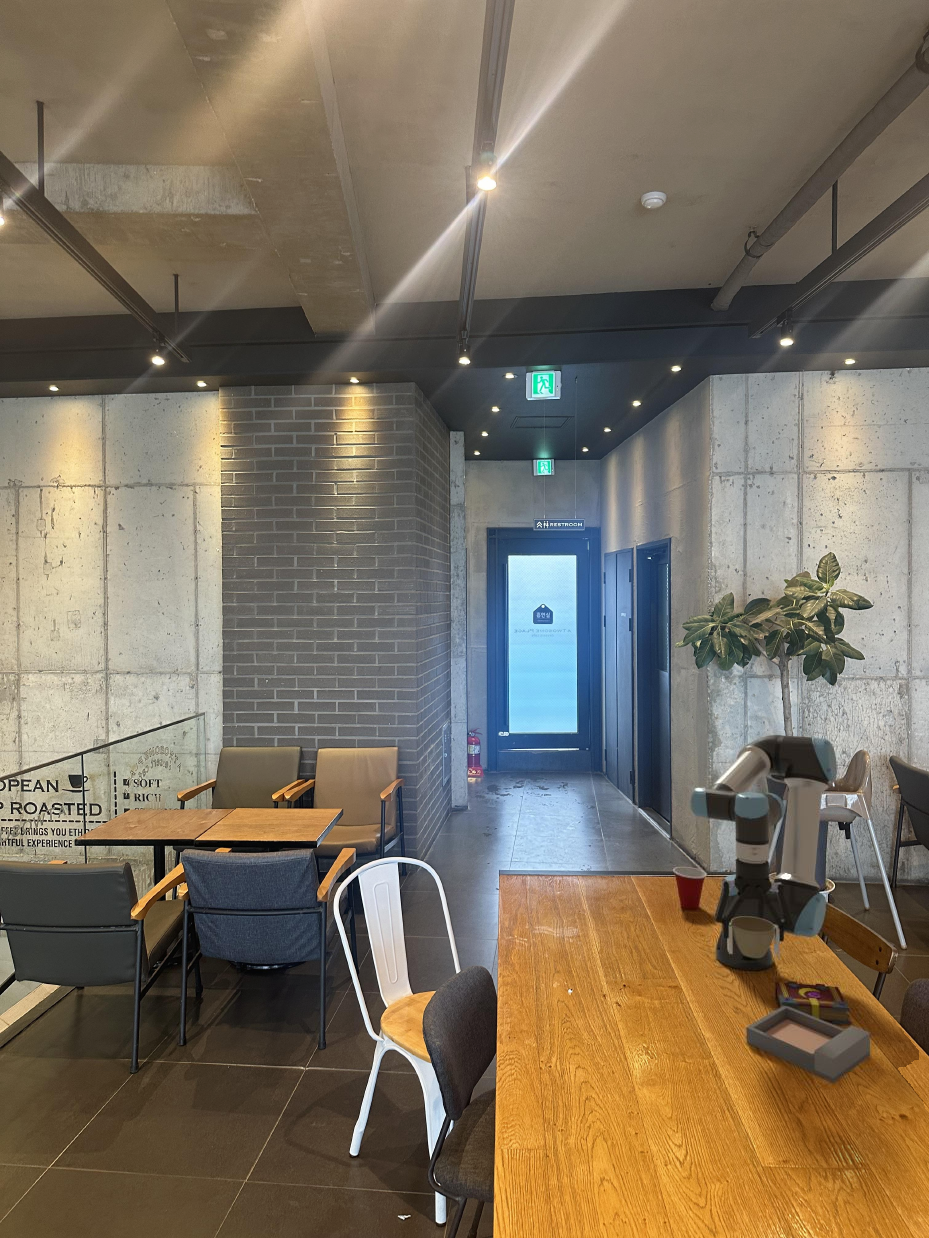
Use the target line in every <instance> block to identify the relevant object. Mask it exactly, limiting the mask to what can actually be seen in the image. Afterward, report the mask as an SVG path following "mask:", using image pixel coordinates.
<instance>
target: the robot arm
mask: <svg viewBox="0 0 929 1238" xmlns="http://www.w3.org/2000/svg"><path fill="white" fill-rule="evenodd" d="M837 774H838V764H837V757H836V752H835V748H834V746H833V744H832V742H831V741H830V740H828V739H826V738H821V737H815V736H793V735H781V734H773V735H767V736H766V735H765V736H763V737H760V738H757V739H755V740H754V741H751V742H749V743H747V745H745V746H743V748H741V749H740V751H739V752H738V754H737V756H736V760H735V761H734V762H733V763H732V764H731V765H730V766H729V767H728V768H727V769H726V770H725V771H724V772H723V773H722V774H721V775H720V776H719V777H718V778H717V779H716V781H714V783H713V784H712V785H710V787H708V788H707V787H705V786H704V787H695V788H694V789H693V790H692V792H691V796H690V809H691V812H692V813H693V815H694V816H696V817H699V818H705V819H711V820H712V819H713V820H720V821H727V822H733V823H734V822H735V823H734V825H735V826H734V827H735V857H736V859H735V874H730V875H728V876H725V878H723V879H722V881H721V888H720V890H721V891H720V896H719V899H718V903H717V906H716V909H715V912H714V919H715V921H716V922H717V923H721V930H720V934H719V937H718V939H717V942H716V946H715V958H716V959H717V961H718V962H720V963H721V964H723V965H725V966H727V967H730V968H733V969H737V970H741V971H763V970H766V969H769V968H770V967H771V966H773V963H774V962H773V961H774V957H773V955H775V956H776V957H778V958H779V957H780V950H781V949H780V947H781V946H780V942H784V940H785V934H791V935H794V936H796V937H799V936H801V937H806V938H813V937H815V936H817V935H818V934H819V932H820V931H821V929H822V927H823V924H824V920H825V917H826V910H827V899H826V896H825V895H824V894H822V893H821V886H820V885H819V884H818V883H817V881H816V879H815V878H816V877H815V875H816V865H817V856H818V854H817V852H818V842H819V830H820V820H821V810H822V808H821V807H822V796H823V792H824V791H826V790H828V789H829V784H830V782H834V781H836V779H837ZM767 775H776V776H783V777H784V778H783V779H784V783H785V784H786V785H787V787H788V797H787V805H786V806H787V807H785V803H784V801H783V799H781V797H780V796H779V795H777V794H775V793H771V792H764V793H760V792H753V791H752V792H751V791H749V790H750V789H751V788H752V786H753V785H754V784H755V783H756V781H758V779H761V778H764V777H765V776H767ZM785 813H786V817H785V824H784V825H785V826H784V827H785V828H784V836H783V847H782V858H781V867H780V873H779V874H777V875H776V876H774V878H773V881H770V862H769V861H768V860H770V850H769V849H770V846H769V844H770V843H769V841H770V833H769V832H770V831H769V830H770V829H769V828H771V827H772V826H775V825H777V824H778V823H779V822H780V821H781V820H782V818H783V817H784V815H785ZM741 916H750V917H757V918H761V919H765V920H767V921H770V922H771V923H773V924H774V925H775V933H774V937H773V952H772V949H771V946H770V947H769V949H768V951H767V952H766V954H765V955H764V956H763V957H761V958H751V957H747V956H745V955H743V954H742V952H741V951H740V949H739V947H738V946H737V943H736V941H735V939H734V936H733V932H732V925H731V920H732V919H733V918H735V917H741ZM773 953H774V954H773ZM776 957H775V958H776Z"/></svg>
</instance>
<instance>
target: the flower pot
mask: <svg viewBox="0 0 929 1238" xmlns="http://www.w3.org/2000/svg"><path fill="white" fill-rule="evenodd" d="M731 925H732V932H733V936H734V939H735V941H736V943H737V946H738V947H739V949H740V951H741V952H742V954H743V955H745V956H747V957H751V958H761V957H763V956H764V955H765V954H766V952H767V951H768V949H769V947H770V948H771V945H772V942H773V941H774V933H775V925H774V924H773V923H771V922H770V921H767V920H765V919H761V918H757V917H750V916H741V917H735V918H733V919H732V920H731Z"/></svg>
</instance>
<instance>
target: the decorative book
mask: <svg viewBox="0 0 929 1238" xmlns="http://www.w3.org/2000/svg"><path fill="white" fill-rule="evenodd" d="M774 984H775V985H774V986H775V990H774V991H775V993H774V995H775V999H776V1003H777V1005H778V1009H779V1008H780V1007H782V1006H784V1005H786V1006H788V1007H791V1008H793V1009H796V1010H798V1011H801V1012H803V1013H806V1014H808V1015H810V1016H813V1017H815V1018H818V1019H820V1020H823V1021H825V1022H828V1023H830V1024H833V1025H841V1026H851V1024H853V1022H852V1021H851V1020H850V1018H849V1014H848V1013H851V1010H850V1009H851V1008H850V1006H849V1004H848V1002H847V1001H846V999H844V996H843V994H842V992H841V990H840V989H839V986H831V985H830V986H829V985H826V984H825V983H815V984H807V983H806V984H805V983H797V981H792V980H791V981H789V980H787V982H782V981H775V983H774ZM847 1012H848V1013H847Z"/></svg>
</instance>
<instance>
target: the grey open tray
mask: <svg viewBox="0 0 929 1238" xmlns="http://www.w3.org/2000/svg"><path fill="white" fill-rule="evenodd" d="M746 1044H748V1045H751V1046H753V1047H755V1048H757V1049H760V1050H761V1051H763V1052H766V1053H767V1054H770V1055H772V1056H774V1057H777V1058H779V1059H781V1060H783V1061H785V1062H788V1063H790V1064H791V1065H794V1066H796V1067H798V1068H800V1069H802V1070H805V1071H807V1072H808V1073H811V1074H813V1075H815V1076H817V1077H819V1078H821V1079H824V1080H826V1081H828V1082H830V1083H833V1084H834V1083H836V1082H837V1081H838V1080H839V1079H841V1078H842V1077H843V1076H845V1075H847V1074H848V1073H850V1071H852V1070H853V1069H855V1068H856V1067H857V1066H858V1065H860V1064H862V1063H863V1062H864V1061H865V1060H866V1059H867V1058H869V1057H870V1056H871V1033H870V1031H867V1030H864V1029H861V1028H859V1027H857V1026H854V1025H853V1024H850V1025H849V1027H847V1028H846V1029H845V1028H843V1027H840V1026H837V1025H836V1024H832V1023H829V1022H825V1021H823V1020H820V1019H818V1018H815V1017H813V1016H810V1015H808V1014H806V1013H803V1012H801V1011H798V1010H796V1009H793V1008H791V1007H788V1006H786V1005H784V1006H782V1007H780V1008H779V1007H778V1008H777V1009H776V1010H773V1011H772V1012H770V1013H769V1014H767V1015H765V1016H763V1017H762V1018H760V1019H758V1020H756V1021H754V1022H753V1023H751V1024H749V1025H748V1026H746Z"/></svg>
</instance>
